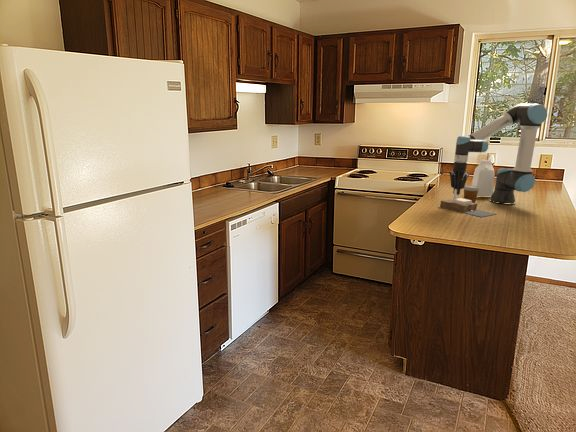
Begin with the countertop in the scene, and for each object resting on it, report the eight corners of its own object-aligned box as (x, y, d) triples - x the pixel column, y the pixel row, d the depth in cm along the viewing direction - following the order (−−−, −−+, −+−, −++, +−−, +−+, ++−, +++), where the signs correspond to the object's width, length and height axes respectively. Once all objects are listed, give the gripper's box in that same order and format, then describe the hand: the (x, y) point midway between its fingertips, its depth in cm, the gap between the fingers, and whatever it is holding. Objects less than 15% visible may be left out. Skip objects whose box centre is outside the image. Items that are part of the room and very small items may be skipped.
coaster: (460, 201, 270) (460, 198, 269) (471, 203, 263) (471, 200, 263) (452, 202, 266) (452, 199, 265) (463, 204, 259) (463, 201, 259)
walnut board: (454, 204, 278) (454, 198, 277) (476, 210, 265) (477, 203, 264) (440, 206, 270) (440, 200, 269) (462, 212, 257) (462, 205, 256)
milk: (486, 194, 314) (491, 159, 308) (492, 198, 303) (497, 161, 296) (469, 194, 315) (474, 158, 309) (474, 197, 304) (480, 160, 298)
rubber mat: (478, 210, 264) (478, 209, 264) (496, 214, 254) (496, 213, 254) (463, 212, 256) (463, 212, 256) (481, 217, 246) (481, 216, 246)
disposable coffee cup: (463, 202, 286) (465, 184, 283) (478, 204, 281) (480, 186, 278) (459, 204, 278) (462, 186, 275) (475, 206, 273) (477, 188, 270)
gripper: (447, 160, 265) (443, 197, 271) (466, 163, 255) (460, 201, 261) (455, 160, 269) (450, 196, 275) (473, 162, 259) (468, 200, 265)
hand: (455, 199), depth 268 cm, fingers closed
